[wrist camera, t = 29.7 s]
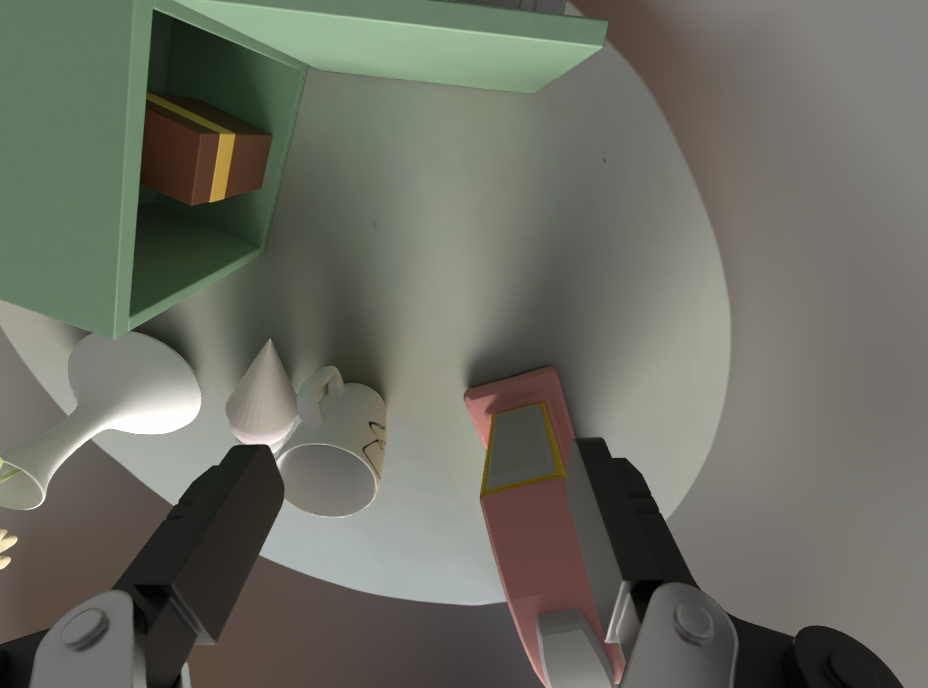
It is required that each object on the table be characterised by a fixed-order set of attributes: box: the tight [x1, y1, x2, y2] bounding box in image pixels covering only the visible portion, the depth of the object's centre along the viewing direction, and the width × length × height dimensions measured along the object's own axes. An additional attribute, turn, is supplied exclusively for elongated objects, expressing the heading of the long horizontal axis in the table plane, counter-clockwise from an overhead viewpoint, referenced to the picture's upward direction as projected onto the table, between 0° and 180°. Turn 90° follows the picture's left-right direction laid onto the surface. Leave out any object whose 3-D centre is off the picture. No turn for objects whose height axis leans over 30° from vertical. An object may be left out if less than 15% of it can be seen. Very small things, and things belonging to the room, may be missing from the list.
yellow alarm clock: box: [464, 366, 625, 688], centre depth 32 cm, size 22×9×22 cm, turn 19°
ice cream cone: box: [225, 338, 298, 453], centre depth 36 cm, size 6×6×15 cm
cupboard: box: [0, 0, 309, 340], centre depth 22 cm, size 9×15×16 cm, turn 155°
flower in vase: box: [0, 331, 201, 569], centre depth 27 cm, size 13×11×25 cm
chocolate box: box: [139, 92, 273, 205], centre depth 24 cm, size 5×4×8 cm
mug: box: [275, 366, 386, 518], centre depth 35 cm, size 11×8×10 cm
